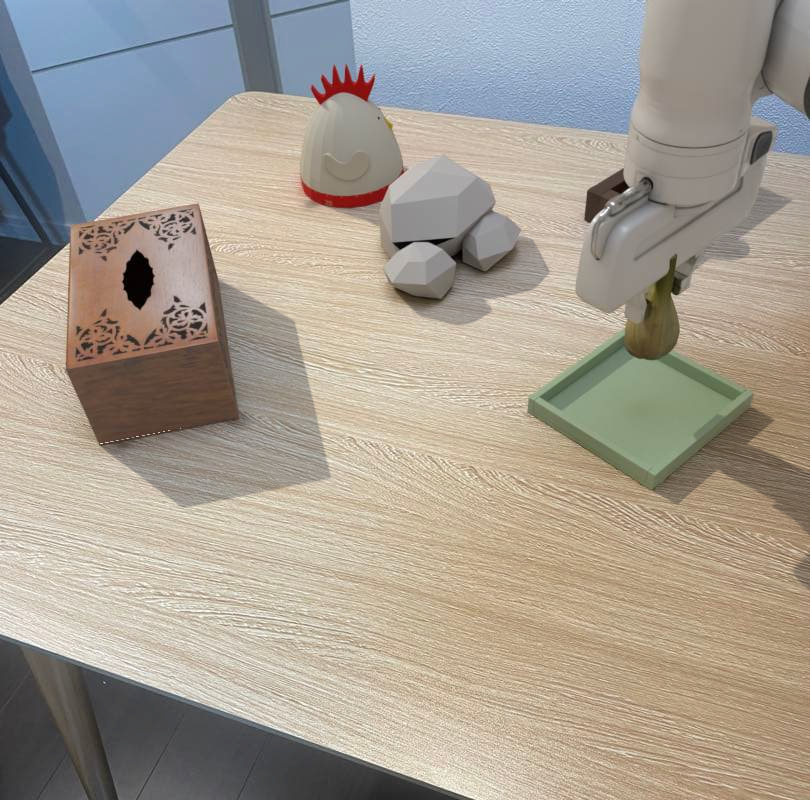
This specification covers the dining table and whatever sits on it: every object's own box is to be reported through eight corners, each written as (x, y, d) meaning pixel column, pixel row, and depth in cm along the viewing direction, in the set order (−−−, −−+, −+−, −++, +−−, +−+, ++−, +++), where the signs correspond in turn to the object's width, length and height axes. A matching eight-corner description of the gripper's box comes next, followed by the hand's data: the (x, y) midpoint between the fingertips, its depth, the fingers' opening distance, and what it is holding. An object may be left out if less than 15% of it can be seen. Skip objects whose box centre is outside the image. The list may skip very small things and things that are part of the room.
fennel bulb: (633, 325, 88) (651, 212, 79) (683, 337, 87) (707, 223, 78) (613, 361, 85) (629, 247, 76) (665, 374, 84) (687, 260, 74)
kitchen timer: (402, 205, 119) (394, 88, 108) (298, 210, 120) (279, 95, 108) (404, 151, 128) (396, 38, 116) (306, 156, 129) (289, 44, 117)
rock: (543, 243, 112) (547, 169, 104) (434, 324, 103) (430, 248, 96) (432, 196, 120) (429, 123, 113) (322, 266, 111) (311, 193, 104)
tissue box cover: (239, 418, 95) (217, 341, 87) (99, 445, 94) (65, 369, 86) (218, 278, 111) (198, 203, 104) (99, 300, 110) (70, 225, 102)
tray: (749, 407, 91) (754, 392, 90) (651, 490, 85) (655, 475, 83) (625, 340, 99) (627, 325, 97) (527, 411, 93) (528, 396, 91)
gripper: (630, 226, 66) (609, 374, 77) (791, 121, 74) (752, 268, 85) (563, 195, 69) (552, 342, 80) (725, 97, 77) (695, 243, 88)
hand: (656, 303), depth 82 cm, fingers closed on fennel bulb, 4 cm apart
